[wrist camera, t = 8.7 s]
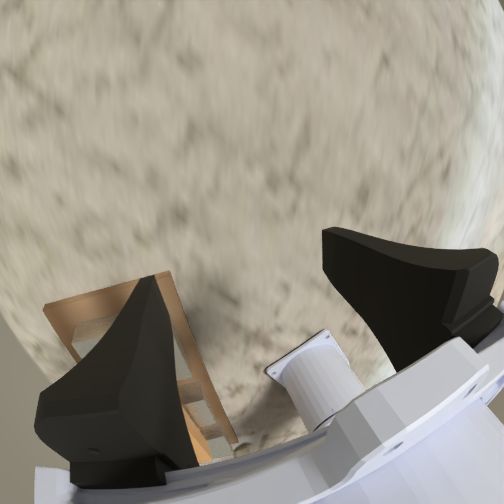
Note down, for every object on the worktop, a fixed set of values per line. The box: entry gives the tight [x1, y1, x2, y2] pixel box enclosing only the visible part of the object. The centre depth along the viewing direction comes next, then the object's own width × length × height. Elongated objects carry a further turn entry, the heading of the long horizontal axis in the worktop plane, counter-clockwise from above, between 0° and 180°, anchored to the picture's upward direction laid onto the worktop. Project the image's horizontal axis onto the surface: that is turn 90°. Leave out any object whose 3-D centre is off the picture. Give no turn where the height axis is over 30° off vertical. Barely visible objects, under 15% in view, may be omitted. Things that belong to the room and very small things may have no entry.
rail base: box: [43, 271, 238, 444], centre depth 27 cm, size 12×30×1 cm, turn 8°
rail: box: [71, 301, 234, 459], centre depth 26 cm, size 8×26×2 cm, turn 8°
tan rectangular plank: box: [182, 406, 213, 463], centre depth 24 cm, size 4×12×6 cm, turn 8°
